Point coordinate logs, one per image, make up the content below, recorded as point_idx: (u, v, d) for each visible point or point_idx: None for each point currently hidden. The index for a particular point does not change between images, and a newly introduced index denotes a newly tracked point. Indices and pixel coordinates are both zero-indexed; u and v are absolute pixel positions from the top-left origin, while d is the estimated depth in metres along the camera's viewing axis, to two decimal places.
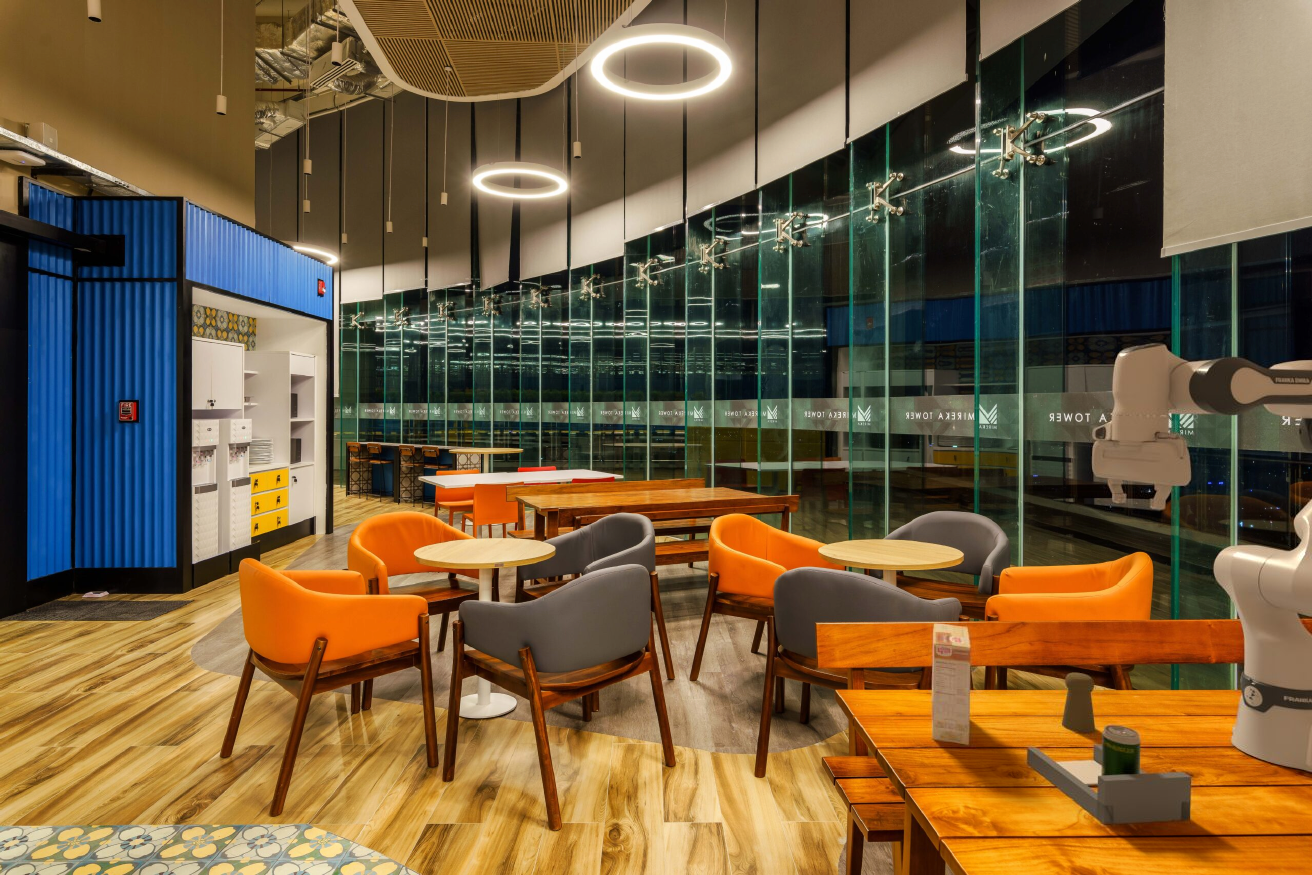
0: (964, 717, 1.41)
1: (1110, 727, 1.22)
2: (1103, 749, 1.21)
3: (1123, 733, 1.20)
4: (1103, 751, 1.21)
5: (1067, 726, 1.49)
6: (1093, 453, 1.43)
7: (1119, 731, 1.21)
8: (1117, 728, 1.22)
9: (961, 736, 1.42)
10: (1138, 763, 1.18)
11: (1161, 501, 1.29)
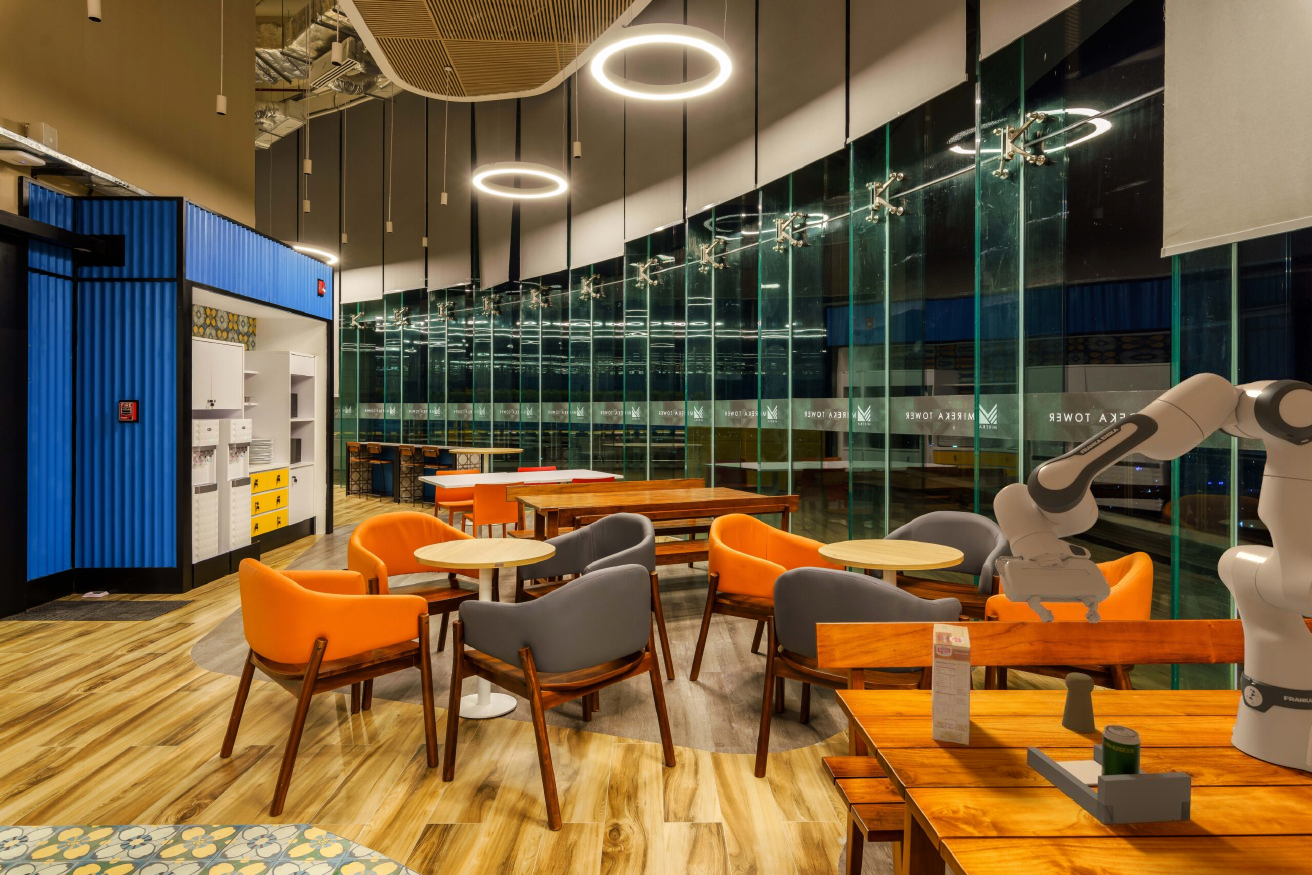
0: (964, 717, 1.41)
1: (1110, 727, 1.22)
2: (1103, 749, 1.21)
3: (1123, 733, 1.20)
4: (1103, 751, 1.21)
5: (1067, 726, 1.49)
6: None
7: (1119, 731, 1.21)
8: (1117, 728, 1.22)
9: (961, 736, 1.42)
10: (1138, 763, 1.18)
11: (1042, 613, 1.33)
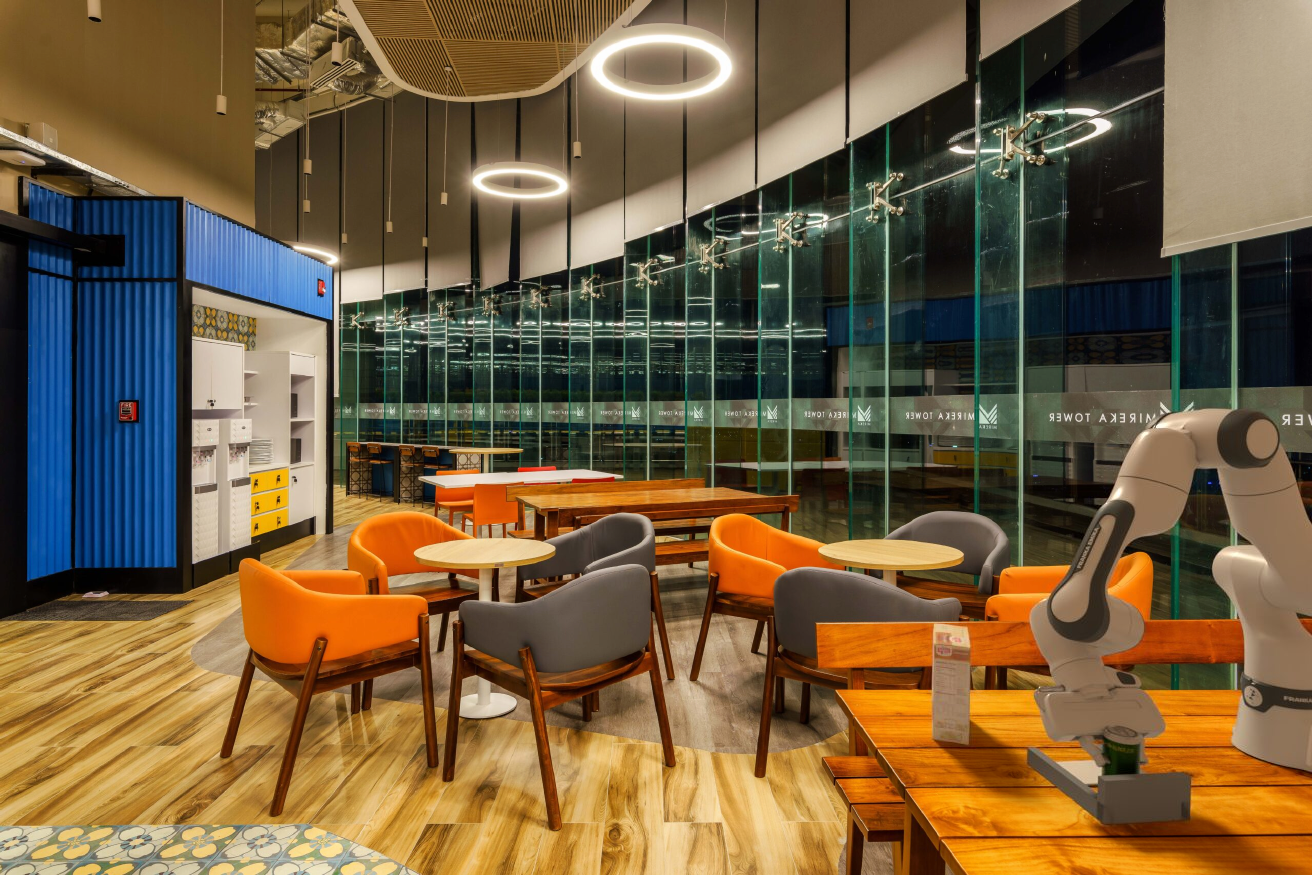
0: (964, 717, 1.41)
1: (1110, 727, 1.22)
2: (1103, 749, 1.21)
3: (1123, 733, 1.20)
4: (1103, 751, 1.21)
5: None
6: None
7: (1119, 731, 1.21)
8: (1117, 728, 1.22)
9: (961, 736, 1.42)
10: (1138, 763, 1.18)
11: (1096, 756, 1.21)
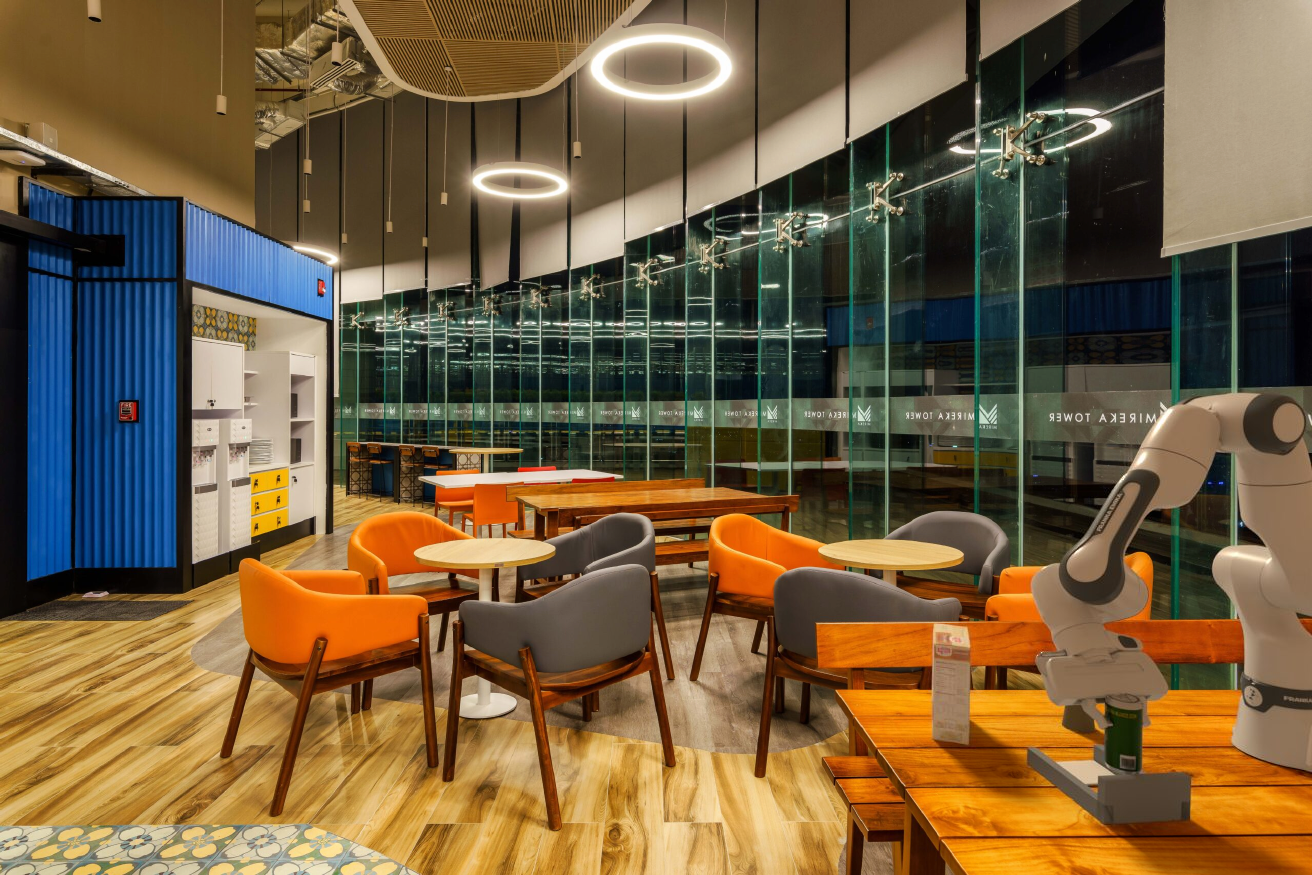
0: (964, 717, 1.41)
1: (1112, 694, 1.22)
2: None
3: (1125, 699, 1.20)
4: None
5: (1067, 726, 1.49)
6: None
7: (1121, 697, 1.21)
8: None
9: (961, 736, 1.42)
10: (1141, 728, 1.18)
11: (1098, 719, 1.20)
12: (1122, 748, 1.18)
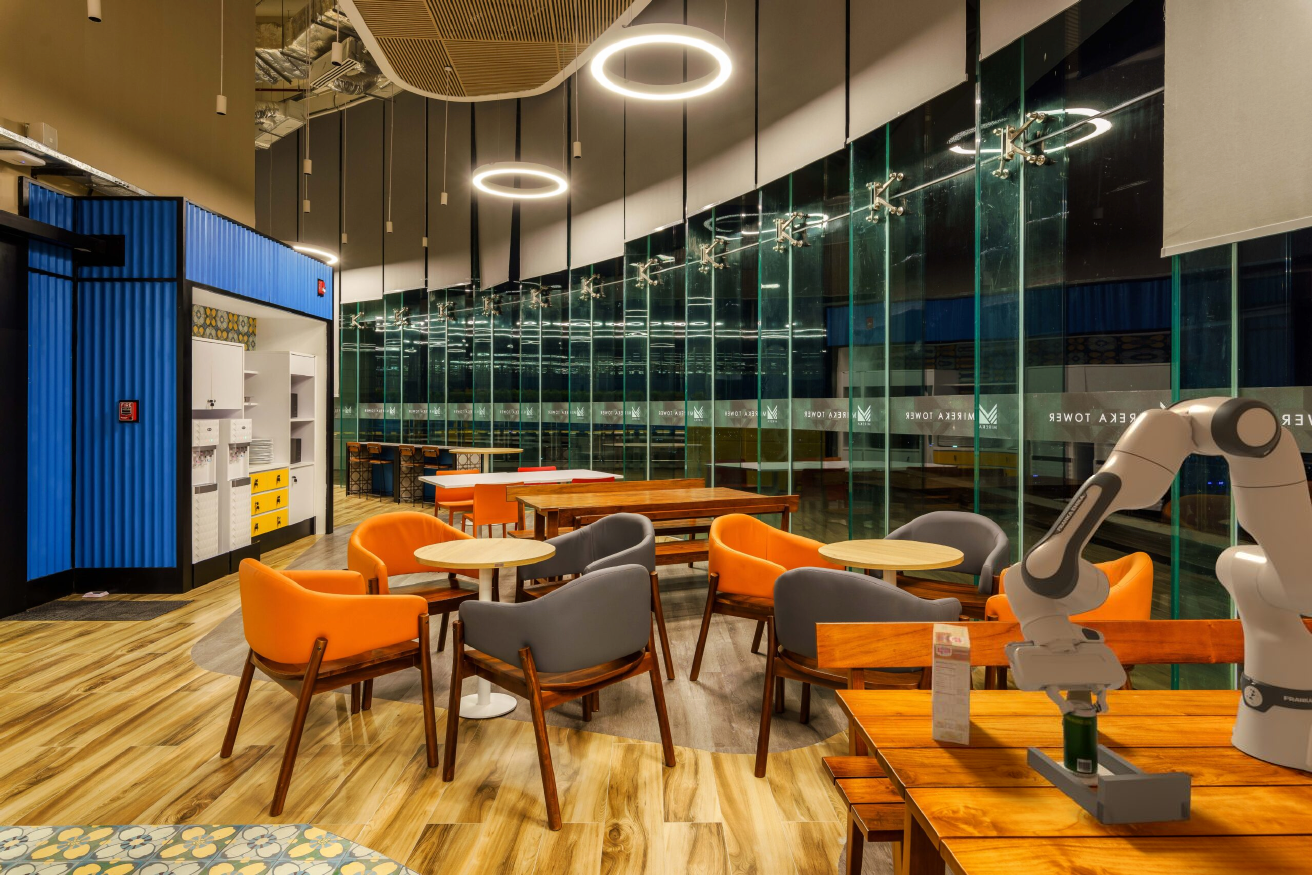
0: (964, 717, 1.41)
1: None
2: (1064, 722, 1.31)
3: (1081, 707, 1.30)
4: (1064, 724, 1.31)
5: None
6: None
7: (1078, 705, 1.30)
8: (1076, 703, 1.32)
9: (961, 736, 1.42)
10: (1096, 734, 1.28)
11: (1061, 704, 1.29)
12: (1079, 752, 1.28)
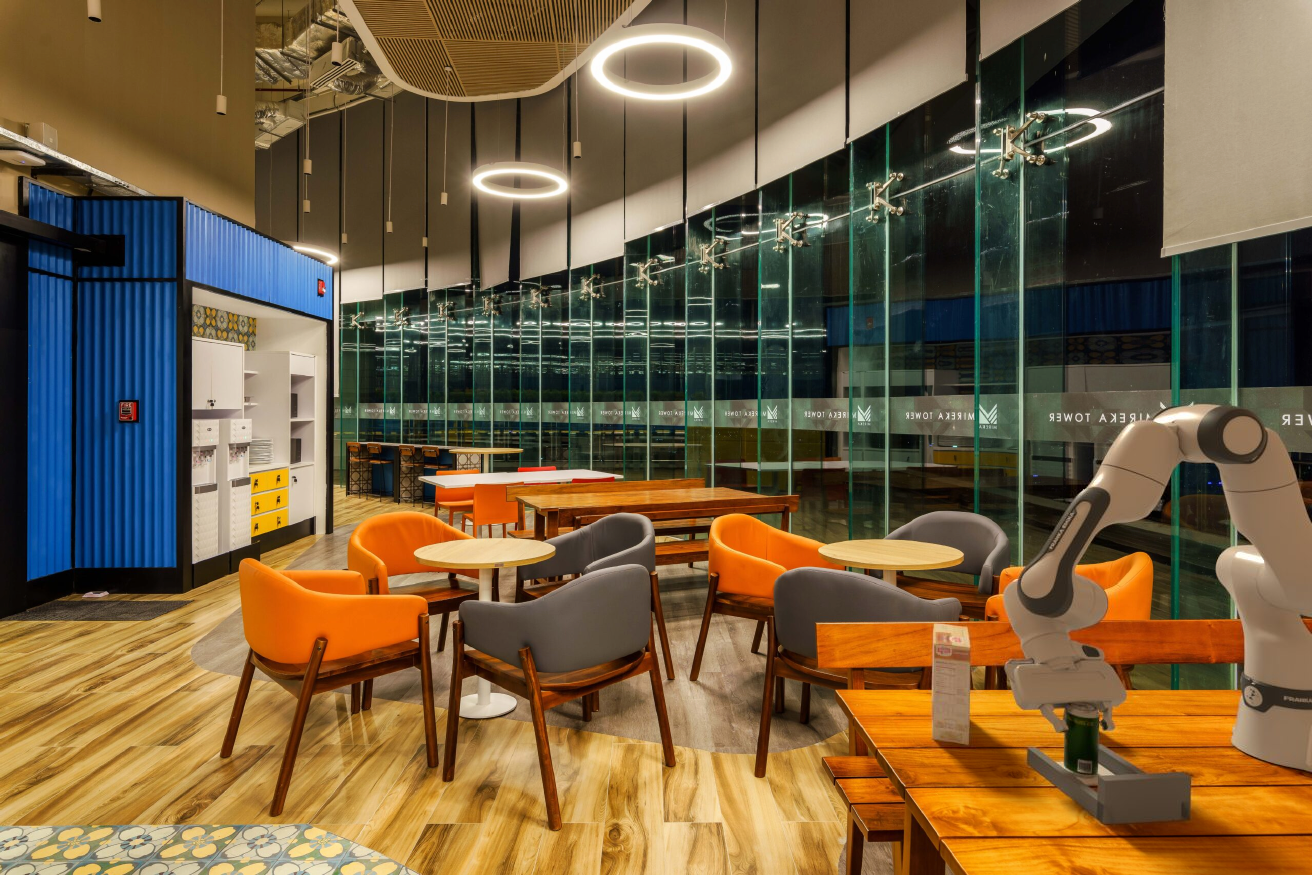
0: (964, 717, 1.41)
1: (1072, 703, 1.32)
2: (1066, 723, 1.31)
3: (1084, 708, 1.30)
4: None
5: None
6: None
7: (1080, 706, 1.30)
8: (1078, 703, 1.31)
9: (961, 736, 1.42)
10: (1097, 735, 1.28)
11: (1055, 723, 1.29)
12: (1080, 753, 1.28)
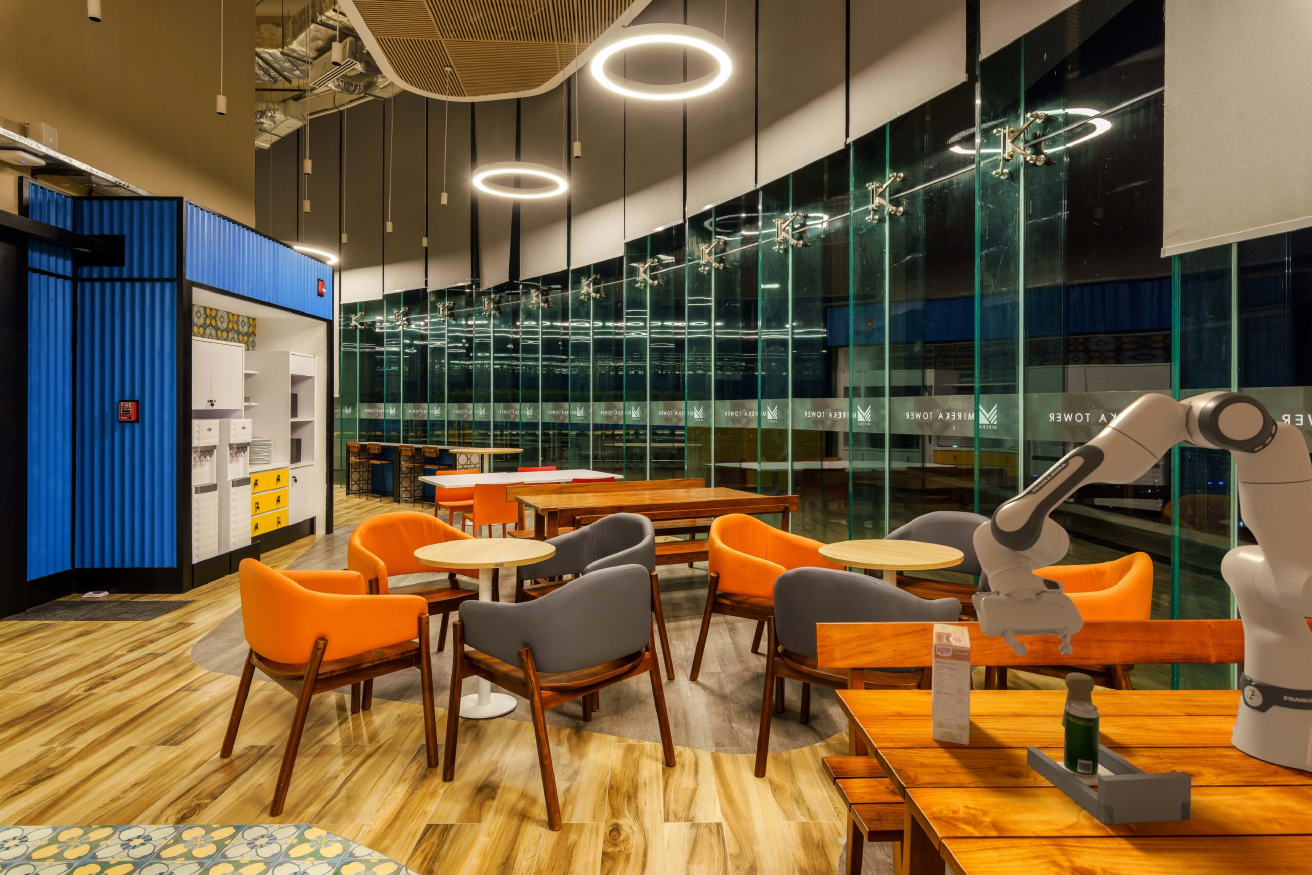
0: (964, 717, 1.41)
1: (1072, 703, 1.32)
2: (1066, 723, 1.31)
3: (1084, 708, 1.30)
4: (1066, 725, 1.30)
5: None
6: None
7: (1080, 706, 1.30)
8: (1078, 703, 1.31)
9: (961, 736, 1.42)
10: (1097, 735, 1.28)
11: (1015, 647, 1.41)
12: (1080, 753, 1.28)
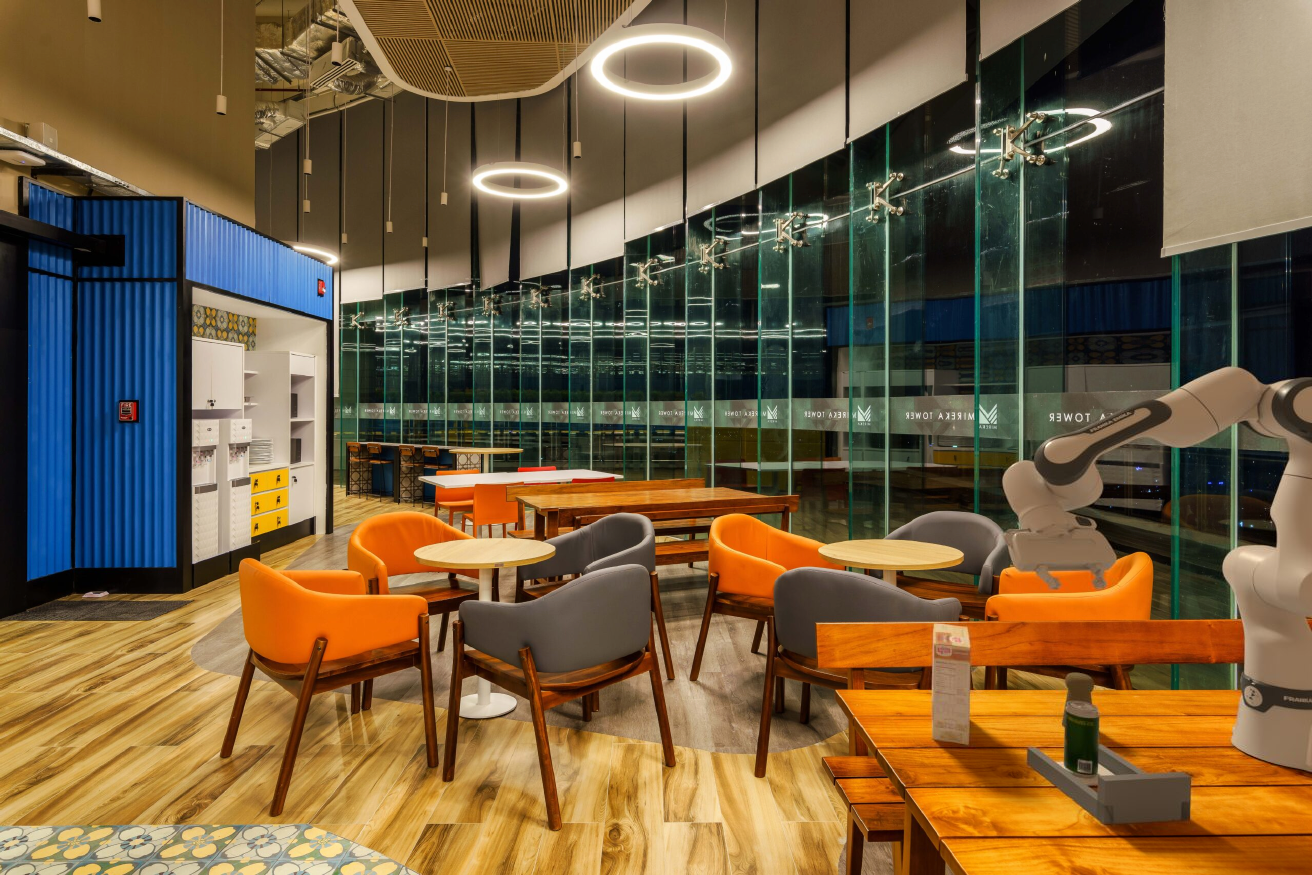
0: (964, 717, 1.41)
1: (1072, 703, 1.32)
2: (1066, 723, 1.31)
3: (1084, 708, 1.30)
4: (1066, 725, 1.31)
5: None
6: None
7: (1080, 706, 1.30)
8: (1078, 703, 1.31)
9: (961, 736, 1.42)
10: (1097, 735, 1.28)
11: (1049, 581, 1.40)
12: (1080, 753, 1.28)
